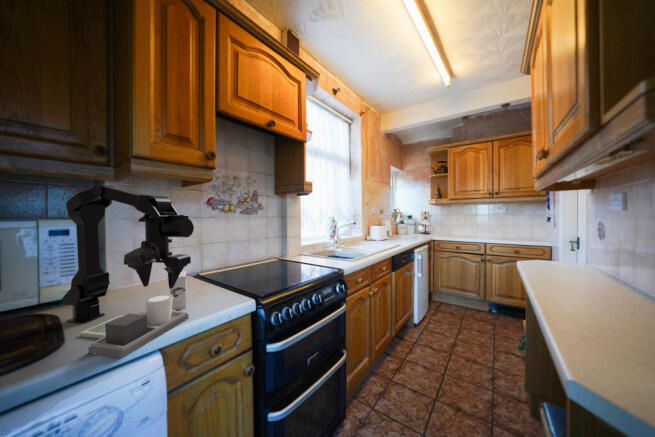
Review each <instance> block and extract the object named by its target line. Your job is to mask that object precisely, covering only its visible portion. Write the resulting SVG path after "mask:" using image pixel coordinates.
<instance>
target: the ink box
mask: <svg viewBox="0 0 655 437" xmlns="http://www.w3.org/2000/svg"><path fill="white" fill-rule="evenodd" d="M169 291H170V294H169V295H172V296H173V301H172V310H178V311H179V310H183V309H187V271H186V270H185V271H184V270H182V272H181V273H180V275H179V277H178V279H177V281H176V283H175V285H174V287H173V288H171V289H170V288H169Z"/></svg>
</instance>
